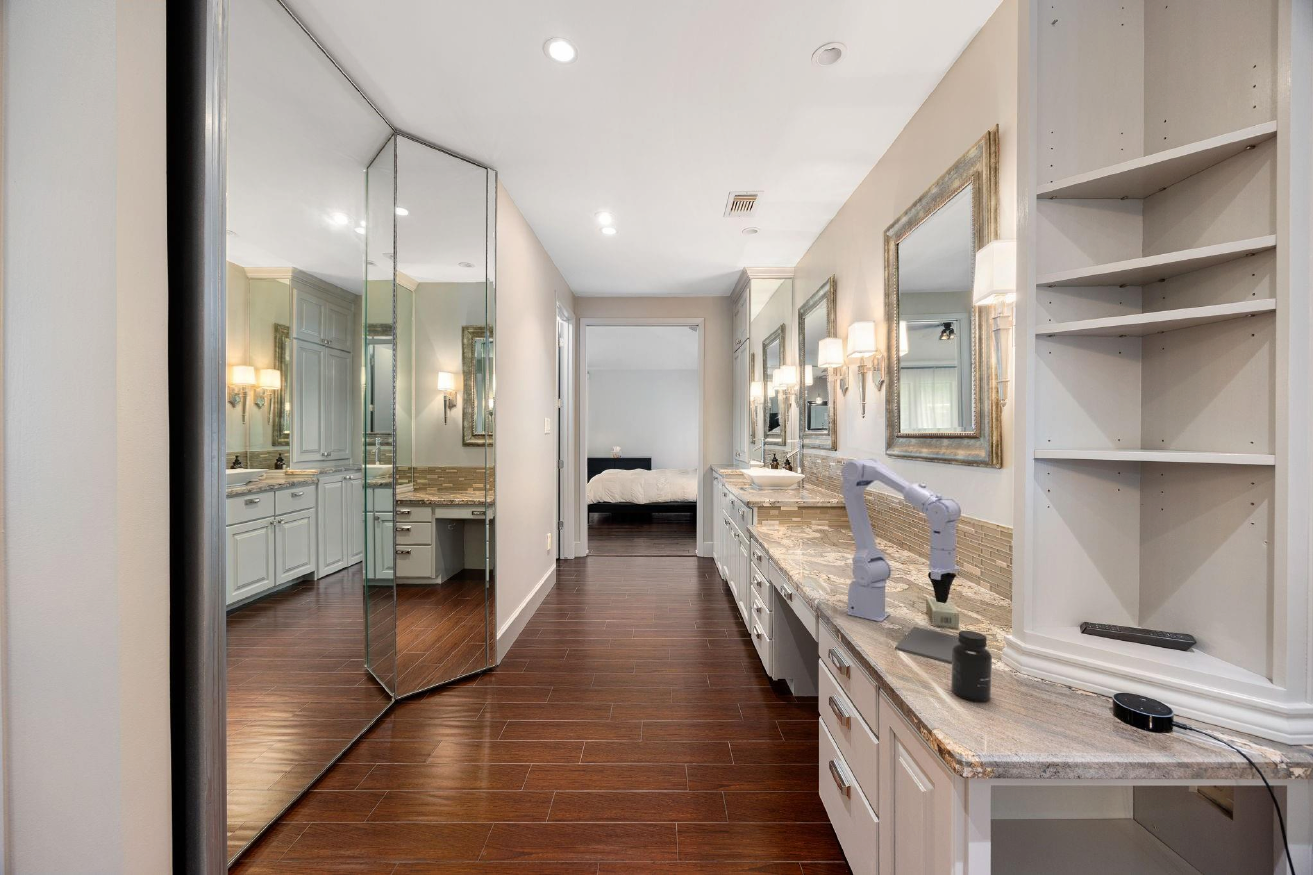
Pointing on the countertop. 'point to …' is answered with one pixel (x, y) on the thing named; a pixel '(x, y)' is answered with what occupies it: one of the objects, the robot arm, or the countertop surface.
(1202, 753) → the countertop surface
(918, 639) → the mat
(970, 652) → the supplement bottle
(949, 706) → the countertop surface
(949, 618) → the skincare box
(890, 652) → the countertop surface
